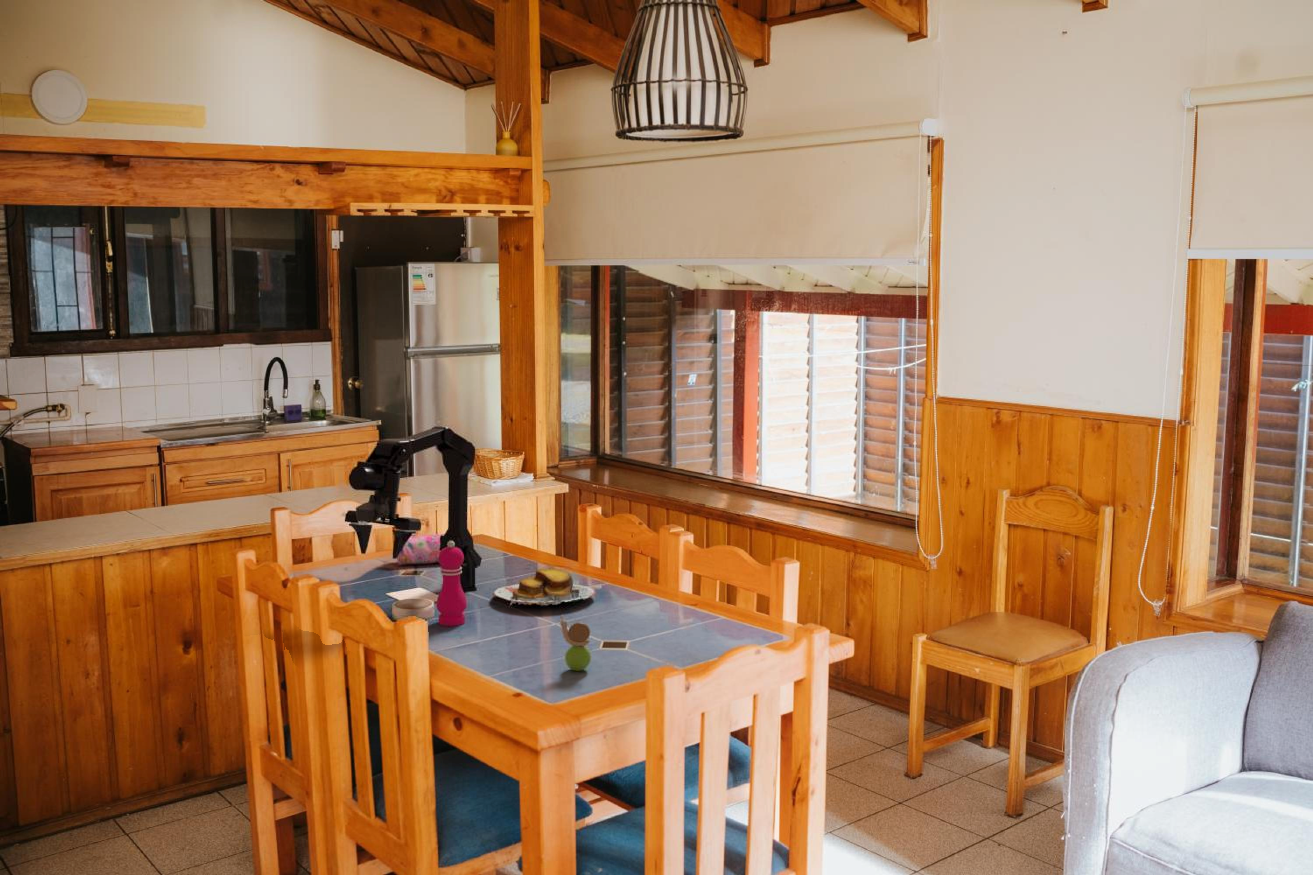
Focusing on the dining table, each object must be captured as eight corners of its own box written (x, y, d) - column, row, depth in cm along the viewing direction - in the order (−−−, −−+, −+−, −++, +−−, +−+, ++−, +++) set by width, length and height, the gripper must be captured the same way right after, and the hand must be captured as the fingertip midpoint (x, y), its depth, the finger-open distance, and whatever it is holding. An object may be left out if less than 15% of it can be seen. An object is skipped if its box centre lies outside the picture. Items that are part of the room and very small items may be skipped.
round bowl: (430, 608, 293) (430, 596, 292) (437, 619, 283) (437, 607, 283) (390, 612, 289) (389, 599, 289) (395, 623, 280) (394, 610, 280)
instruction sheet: (420, 588, 312) (420, 587, 312) (446, 599, 301) (446, 598, 301) (385, 594, 305) (385, 593, 305) (411, 606, 295) (411, 605, 295)
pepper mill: (460, 627, 277) (459, 544, 275) (431, 625, 279) (430, 543, 276) (471, 619, 284) (470, 538, 282) (443, 617, 286) (442, 536, 283)
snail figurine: (560, 666, 251) (560, 611, 249) (590, 665, 252) (590, 611, 250) (560, 674, 246) (560, 618, 244) (591, 674, 246) (591, 618, 245)
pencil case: (397, 569, 332) (397, 537, 331) (393, 561, 341) (392, 531, 340) (472, 563, 340) (472, 532, 339) (466, 556, 348) (466, 526, 347)
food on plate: (473, 605, 297) (473, 579, 297) (530, 583, 320) (530, 559, 319) (560, 620, 285) (560, 593, 284) (613, 596, 308) (613, 571, 307)
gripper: (333, 486, 280) (326, 551, 280) (398, 495, 273) (390, 562, 273) (362, 488, 291) (355, 551, 290) (425, 496, 283) (418, 560, 283)
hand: (378, 556), depth 284 cm, fingers open, 9 cm apart
